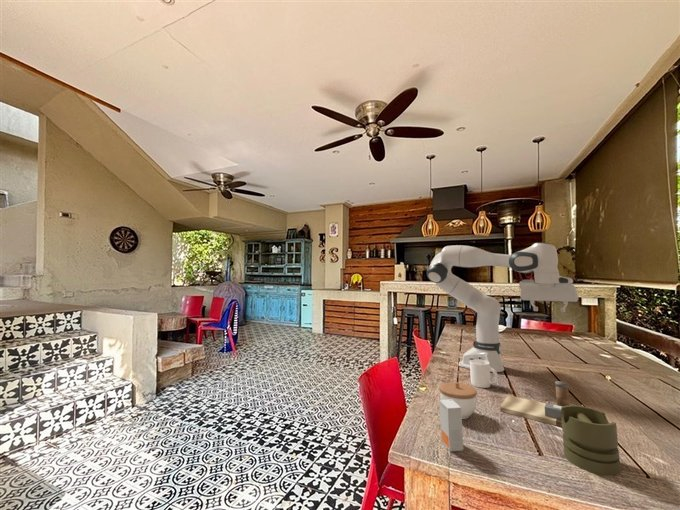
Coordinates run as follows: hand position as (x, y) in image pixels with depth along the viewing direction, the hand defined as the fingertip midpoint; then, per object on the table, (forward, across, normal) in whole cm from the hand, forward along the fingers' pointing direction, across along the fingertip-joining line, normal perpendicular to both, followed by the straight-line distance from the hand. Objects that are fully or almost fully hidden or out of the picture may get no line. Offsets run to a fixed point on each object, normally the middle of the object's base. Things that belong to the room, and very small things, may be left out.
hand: (549, 311), depth 123 cm
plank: (+34, -2, -25) cm, 42 cm away
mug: (+34, -25, -9) cm, 43 cm away
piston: (+34, +11, -49) cm, 61 cm away
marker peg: (+33, +4, -21) cm, 39 cm away
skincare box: (+34, -20, -65) cm, 76 cm away
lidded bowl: (+34, -25, -44) cm, 61 cm away
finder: (+33, +2, -28) cm, 43 cm away
